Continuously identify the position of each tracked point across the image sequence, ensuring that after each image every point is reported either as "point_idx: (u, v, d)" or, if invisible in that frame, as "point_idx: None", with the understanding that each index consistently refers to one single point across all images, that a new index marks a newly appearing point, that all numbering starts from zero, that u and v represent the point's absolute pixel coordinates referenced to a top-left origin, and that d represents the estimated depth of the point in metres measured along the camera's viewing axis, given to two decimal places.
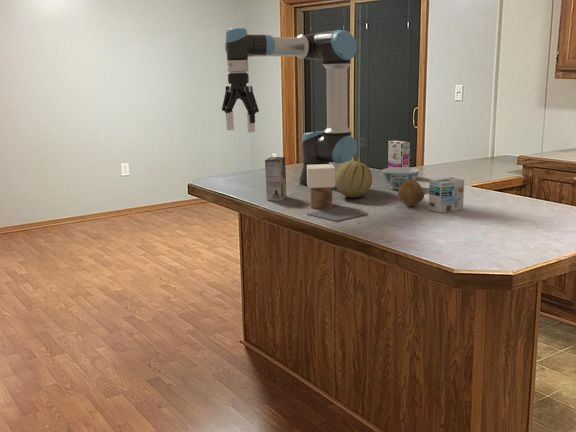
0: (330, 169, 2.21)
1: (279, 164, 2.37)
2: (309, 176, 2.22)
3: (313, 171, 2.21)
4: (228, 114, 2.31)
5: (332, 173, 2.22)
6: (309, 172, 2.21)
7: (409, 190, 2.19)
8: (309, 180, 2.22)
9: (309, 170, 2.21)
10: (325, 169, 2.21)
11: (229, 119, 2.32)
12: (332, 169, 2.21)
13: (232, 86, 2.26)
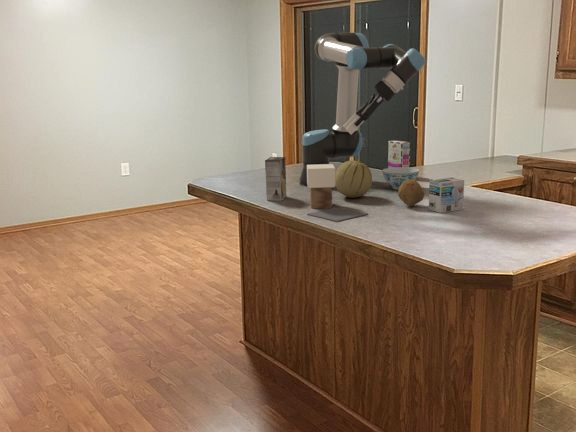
0: (330, 169, 2.21)
1: (279, 164, 2.37)
2: (309, 176, 2.22)
3: (313, 171, 2.21)
4: None
5: (332, 173, 2.22)
6: (309, 172, 2.21)
7: (409, 190, 2.19)
8: (309, 180, 2.22)
9: (309, 170, 2.21)
10: (325, 169, 2.21)
11: None
12: (332, 169, 2.21)
13: None
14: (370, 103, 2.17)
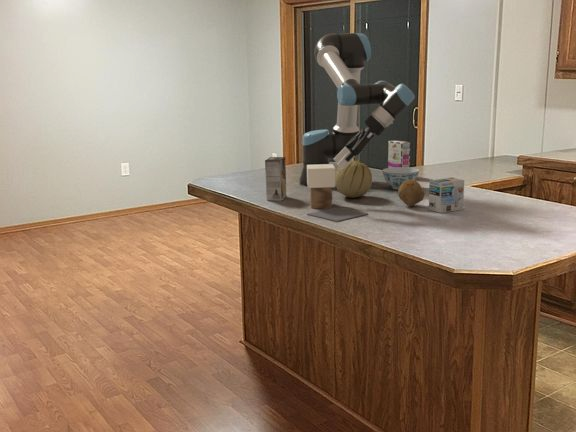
0: (330, 169, 2.21)
1: (279, 164, 2.37)
2: (309, 176, 2.22)
3: (313, 171, 2.21)
4: None
5: (332, 173, 2.22)
6: (309, 172, 2.21)
7: (409, 190, 2.19)
8: (309, 180, 2.22)
9: (309, 170, 2.21)
10: (325, 169, 2.21)
11: None
12: (332, 169, 2.21)
13: None
14: (360, 138, 2.19)
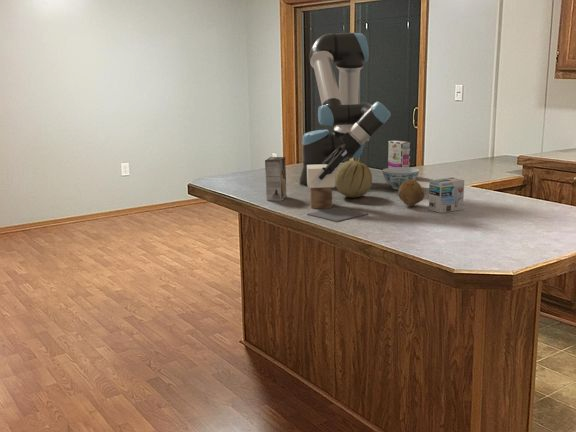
0: None
1: (279, 164, 2.37)
2: (309, 176, 2.22)
3: (313, 171, 2.21)
4: None
5: (332, 173, 2.22)
6: (309, 172, 2.22)
7: (409, 190, 2.19)
8: (309, 180, 2.22)
9: (309, 170, 2.21)
10: None
11: None
12: None
13: (348, 150, 2.22)
14: (335, 156, 2.22)
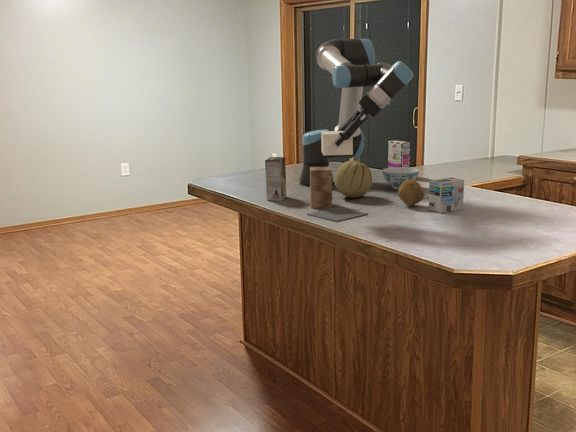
0: None
1: (279, 164, 2.37)
2: (325, 143, 2.04)
3: (329, 137, 2.03)
4: None
5: (350, 139, 2.03)
6: (325, 138, 2.03)
7: (409, 190, 2.19)
8: (324, 147, 2.04)
9: (325, 136, 2.03)
10: None
11: None
12: None
13: None
14: (353, 120, 2.03)
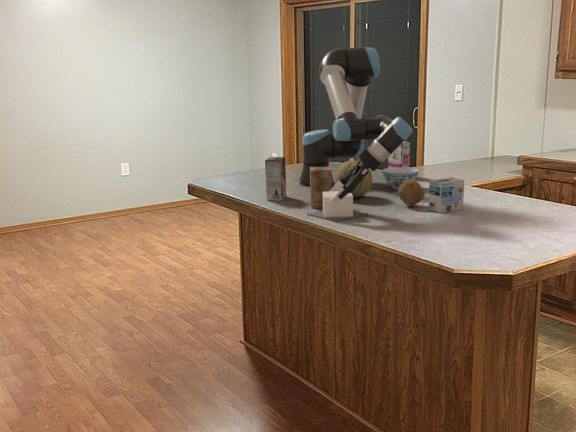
0: (348, 197, 2.08)
1: (279, 164, 2.37)
2: (326, 205, 2.09)
3: (330, 199, 2.08)
4: None
5: (350, 202, 2.08)
6: (325, 200, 2.08)
7: (409, 190, 2.19)
8: (325, 209, 2.09)
9: (325, 198, 2.08)
10: None
11: None
12: (350, 197, 2.08)
13: None
14: (355, 174, 2.07)
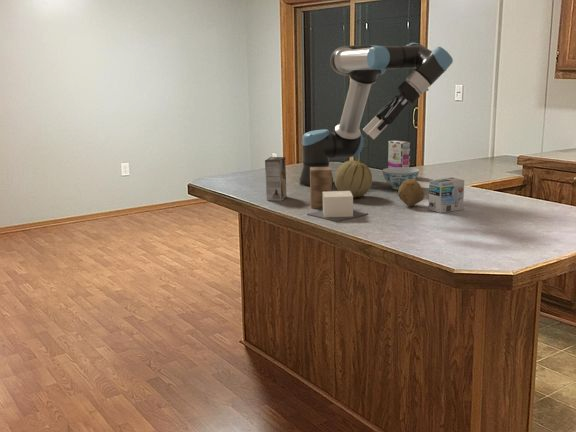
0: (348, 197, 2.08)
1: (279, 164, 2.37)
2: (326, 205, 2.09)
3: (330, 199, 2.08)
4: None
5: (350, 202, 2.08)
6: (325, 200, 2.08)
7: (409, 190, 2.19)
8: (325, 209, 2.09)
9: (325, 198, 2.08)
10: (343, 197, 2.08)
11: None
12: (350, 197, 2.08)
13: None
14: (394, 105, 2.02)
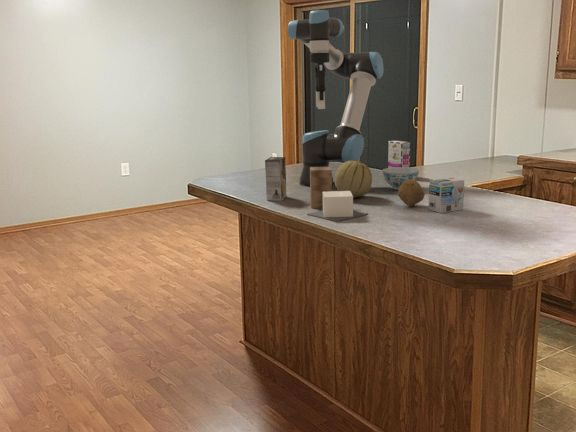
0: (348, 197, 2.08)
1: (279, 164, 2.37)
2: (326, 205, 2.09)
3: (330, 199, 2.08)
4: None
5: (350, 202, 2.08)
6: (325, 200, 2.08)
7: (409, 190, 2.19)
8: (325, 209, 2.09)
9: (325, 198, 2.08)
10: (343, 197, 2.08)
11: None
12: (350, 197, 2.08)
13: None
14: (317, 75, 2.36)
